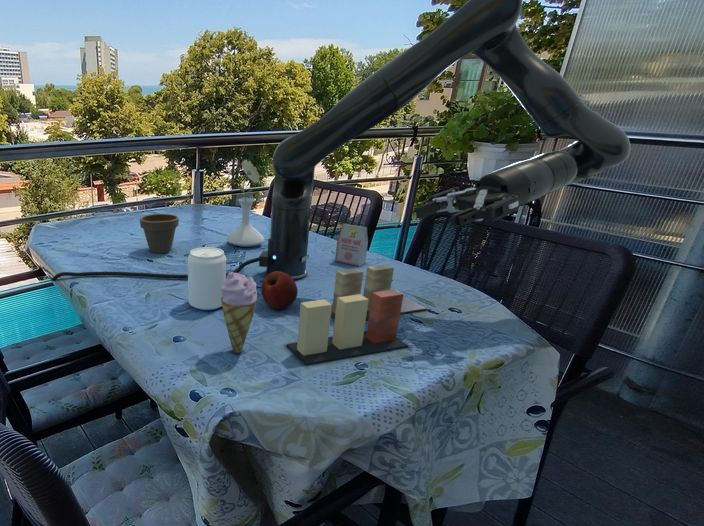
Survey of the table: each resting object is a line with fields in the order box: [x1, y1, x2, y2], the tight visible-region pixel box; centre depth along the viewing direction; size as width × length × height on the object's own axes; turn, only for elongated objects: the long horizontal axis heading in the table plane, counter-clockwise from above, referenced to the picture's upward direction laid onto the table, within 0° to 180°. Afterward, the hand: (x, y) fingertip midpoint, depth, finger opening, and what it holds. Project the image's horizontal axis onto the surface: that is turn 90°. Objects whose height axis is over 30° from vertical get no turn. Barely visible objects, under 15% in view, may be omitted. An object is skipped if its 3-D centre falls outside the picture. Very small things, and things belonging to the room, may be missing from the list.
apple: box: [260, 271, 298, 310], centre depth 98 cm, size 7×8×8 cm
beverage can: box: [187, 246, 227, 311], centre depth 100 cm, size 8×8×12 cm
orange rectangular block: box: [366, 289, 404, 344], centre depth 83 cm, size 4×2×9 cm, turn 105°
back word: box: [331, 264, 428, 320], centre depth 95 cm, size 20×7×9 cm, turn 105°
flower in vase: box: [226, 159, 265, 248], centre depth 139 cm, size 13×11×25 cm
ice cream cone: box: [221, 271, 258, 354], centre depth 80 cm, size 7×6×15 cm
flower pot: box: [139, 213, 180, 254], centre depth 138 cm, size 12×11×10 cm
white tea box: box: [334, 223, 369, 267], centre depth 123 cm, size 4×7×10 cm, turn 44°
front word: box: [286, 293, 409, 366], centre depth 81 cm, size 20×7×9 cm, turn 105°
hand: (434, 217), depth 82 cm, fingers open, 8 cm apart
